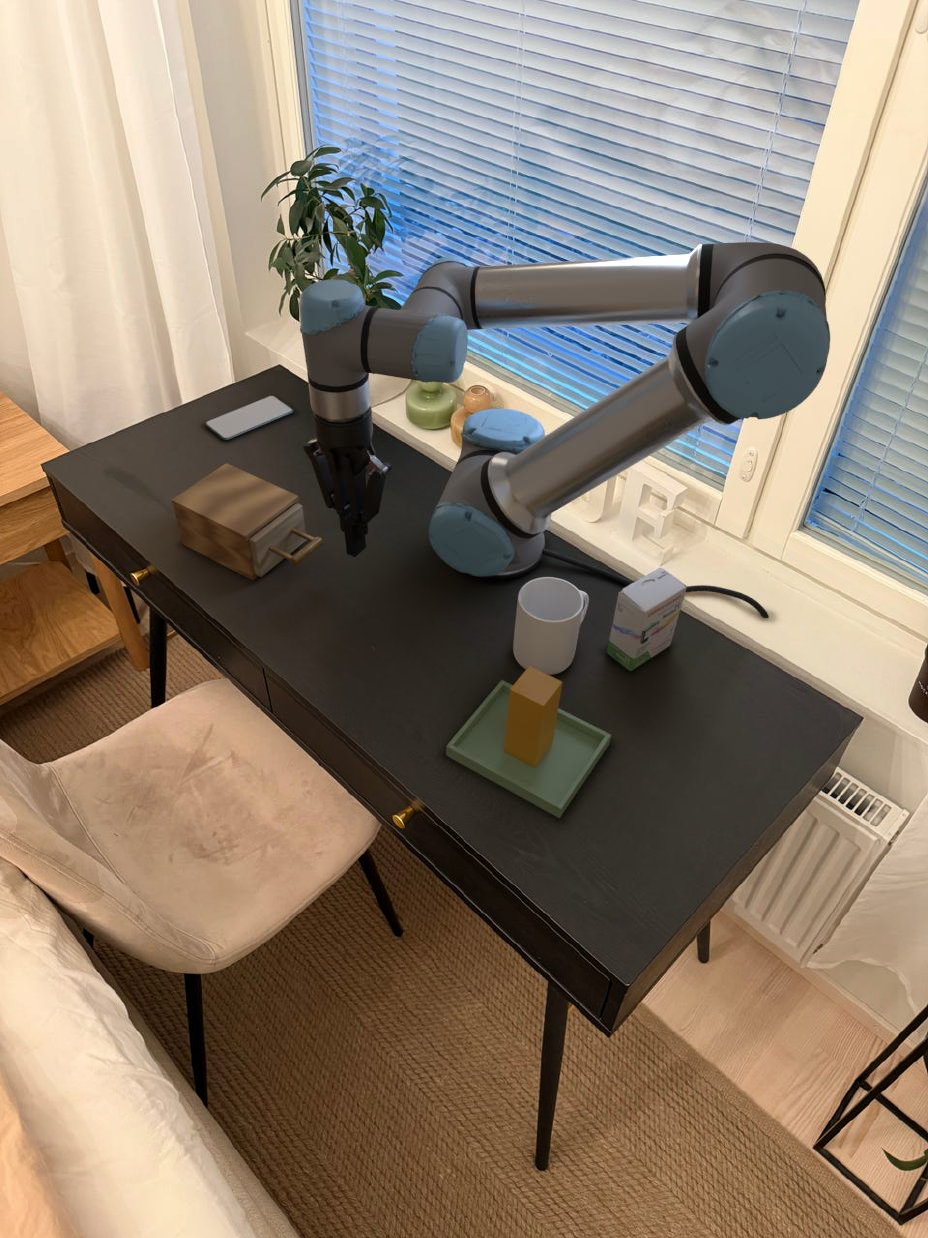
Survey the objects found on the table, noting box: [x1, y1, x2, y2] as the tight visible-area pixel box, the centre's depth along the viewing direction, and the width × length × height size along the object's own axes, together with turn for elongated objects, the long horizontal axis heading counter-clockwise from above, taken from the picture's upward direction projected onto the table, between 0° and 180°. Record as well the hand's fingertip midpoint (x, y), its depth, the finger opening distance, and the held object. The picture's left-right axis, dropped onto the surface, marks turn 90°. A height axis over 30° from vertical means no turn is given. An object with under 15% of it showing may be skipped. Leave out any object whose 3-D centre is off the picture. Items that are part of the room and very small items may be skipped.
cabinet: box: [171, 462, 300, 581], centre depth 136 cm, size 15×12×9 cm
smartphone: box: [205, 395, 295, 441], centre depth 164 cm, size 7×1×15 cm
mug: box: [512, 576, 590, 676], centre depth 121 cm, size 9×12×11 cm
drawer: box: [249, 503, 324, 578], centre depth 135 cm, size 19×10×7 cm, turn 57°
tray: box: [445, 679, 612, 819], centre depth 112 cm, size 16×13×2 cm
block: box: [504, 666, 563, 768], centre depth 108 cm, size 4×4×12 cm
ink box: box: [606, 567, 688, 672], centre depth 121 cm, size 8×5×12 cm, turn 129°
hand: (356, 550), depth 129 cm, fingers closed
